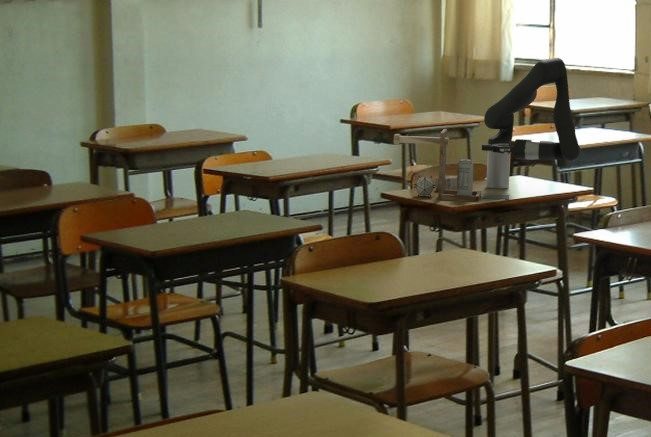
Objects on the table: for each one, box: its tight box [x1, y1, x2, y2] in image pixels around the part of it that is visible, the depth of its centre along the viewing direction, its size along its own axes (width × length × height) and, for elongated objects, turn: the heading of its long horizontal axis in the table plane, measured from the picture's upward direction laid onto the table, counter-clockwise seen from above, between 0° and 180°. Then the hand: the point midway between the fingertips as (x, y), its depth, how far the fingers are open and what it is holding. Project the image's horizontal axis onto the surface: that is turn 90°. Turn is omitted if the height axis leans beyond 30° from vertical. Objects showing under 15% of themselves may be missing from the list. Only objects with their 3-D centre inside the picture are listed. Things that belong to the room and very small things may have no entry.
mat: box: [482, 193, 510, 201], centre depth 479 cm, size 10×10×1 cm
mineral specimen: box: [434, 174, 457, 191], centre depth 495 cm, size 13×7×6 cm, turn 115°
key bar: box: [393, 133, 450, 146], centre depth 475 cm, size 4×21×4 cm, turn 79°
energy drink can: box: [457, 158, 474, 196], centre depth 474 cm, size 6×6×15 cm
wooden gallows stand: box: [437, 128, 482, 202], centre depth 473 cm, size 13×16×26 cm
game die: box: [413, 175, 436, 198], centre depth 478 cm, size 9×8×10 cm
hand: (482, 147), depth 470 cm, fingers closed
